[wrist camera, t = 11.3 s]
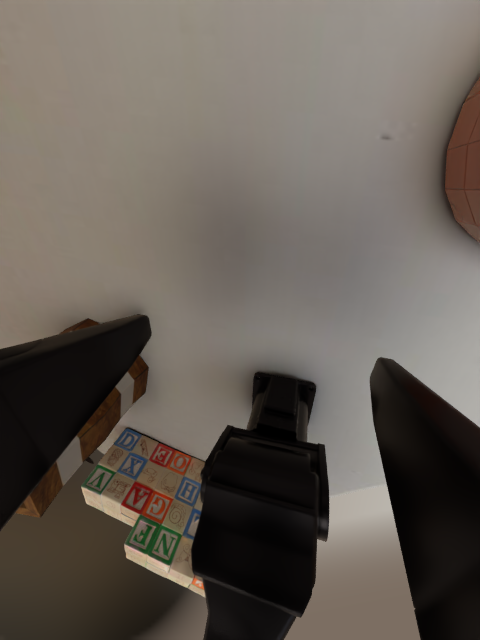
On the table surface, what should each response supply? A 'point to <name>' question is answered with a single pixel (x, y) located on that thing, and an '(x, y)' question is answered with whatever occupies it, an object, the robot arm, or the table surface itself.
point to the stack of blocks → (151, 503)
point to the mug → (87, 434)
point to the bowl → (465, 165)
